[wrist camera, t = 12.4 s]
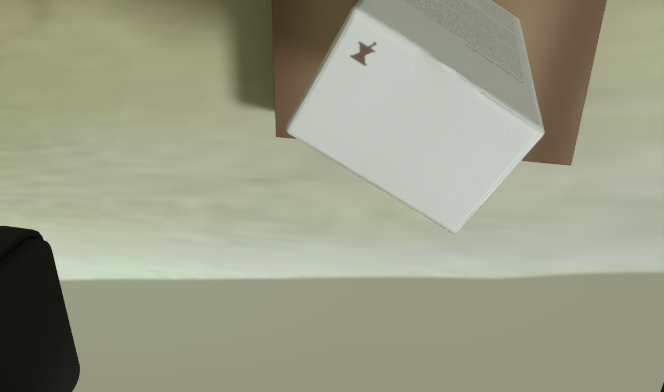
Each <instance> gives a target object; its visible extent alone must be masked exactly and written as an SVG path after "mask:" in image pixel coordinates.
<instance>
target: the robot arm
mask: <svg viewBox="0 0 664 392" xmlns="http://www.w3.org/2000/svg"><path fill="white" fill-rule="evenodd" d="M79 366H80V365H79V361H78V357H77V353H76V348H75V344H74V340H73V336H72V332H71V328H70V324H69V320H68V315H67V311H66V307H65V303H64V299H63V294H62V290H61V286H60V282H59V278H58V274H57V270H56V265H55V261H54V257H53V253H52V249H51V247H50V244H49V243H48V242H47V241H44V240H43V237H42V235H41V234H40V233H39V232H38V231H35V230H32V229H24V228H17V227H10V226H0V392H72V391H73V389H74V388H75V386H76V384H77V381H78V378H79V373H80V367H79ZM661 392H664V383H663V386H662V389H661Z"/></svg>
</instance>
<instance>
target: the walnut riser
mask: <svg viewBox="0 0 664 392" xmlns="http://www.w3.org/2000/svg"><path fill="white" fill-rule="evenodd" d="M358 1H359V0H272V22H273V54H274V86H275V118H276V137H283V138H293V139H296V138H295V137H293V136H291V135H290V134H288V133H287V131H286V126H287V124H288V122H289V120H290V118H291V116H292V114H293V113H294V111H295V109H296V107H297V105H298V104H299V102H300V100H301V98H302V97H303V95H304V93H305V91H306V89H307V88H308V86H309V84H310V82H311V81H312V79H313V77H314V75H315V73H316V72H317V70H318V68H319V66H320V65H321V63H322V61H323V59H324V57H325V56H326V54H327V52H328V50H329V49H330V47H331V45H332V43H333V41H334V40H335V38H336V36H337V34H338V33H339V31H340V29H341V27H342V25H343V24H344V22H345V20H346V18H347V16H348V14H349V13H350V11H351V9H352V8H353V7H354V6H355V5H356V4H357V2H358ZM492 1H494V2H495V3H497V4H498V5H500V6H501V7H503V8H504V9H506V10H507V11H509V12H510V13H512V14H513V15H515V16H516V17H518V18H519V20H520V23H521V28H522V32H523V37H524V42H525V46H526V51H527V56H528V60H529V65H530V69H531V74H532V79H533V83H534V88H535V92H536V97H537V102H538V105H539V110H540V114H541V119H542V123H543V127H544V135H543V136H542V138H541V139H540V140H539V141H538V142H537V143H536V144H535V145H534V147H533V148H532V149H531V150H530V151H529V152H528V153H527V155H526V156H525V157H524V158H523V159H522V160H521V161H529V162H540V163H550V164H560V165H570V166H571V163H572V158H573V154H574V149H575V145H576V140H577V135H578V131H579V126H580V121H581V117H582V112H583V107H584V103H585V98H586V94H587V89H588V84H589V80H590V75H591V70H592V66H593V61H594V57H595V52H596V47H597V43H598V38H599V33H600V29H601V24H602V20H603V15H604V10H605V6H606V1H607V0H492Z"/></svg>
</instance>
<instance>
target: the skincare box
mask: <svg viewBox="0 0 664 392" xmlns="http://www.w3.org/2000/svg"><path fill="white" fill-rule="evenodd" d="M286 131H287V133H288V134H290V135H291V136H293V137H295V138H296V139H298V140H300V141H301V142H303V143H304V144H306V145H308V146H309V147H311V148H313V149H314V150H316V151H318V152H319V153H321V154H323V155H324V156H326V157H327V158H329V159H331V160H332V161H334V162H336V163H337V164H339V165H341V166H342V167H344V168H346V169H347V170H349V171H351V172H352V173H354V174H356V175H357V176H359V177H361V178H362V179H364V180H366V181H367V182H369V183H371V184H372V185H374V186H376V187H377V188H379V189H381V190H383V191H384V192H386V193H388V194H389V195H391V196H393V197H394V198H396V199H398V200H399V201H401V202H402V203H404V204H406V205H407V206H409V207H411V208H412V209H414V210H416V211H418V212H419V213H421V214H422V215H424V216H426V217H427V218H429V219H431V220H432V221H434V222H435V223H437V224H439V225H440V226H442V227H444V228H445V229H447V230H448V231H449V232H451V233H453V234H454V233H456V232H458V230H459V229H460V228H461V227H462V226H463V225H464V224H465V222H466V221H467V220H468V219H469V218H470V217H471V216H472V215H473V214H474V213H475V211H476V210H477V209H478V208H479V207H480V206H481V205H482V204H483V203H484V201H485V200H486V199H487V198H488V197H489V196H490V195H491V194H492V193H493V191H494V190H495V189H496V188H497V187H498V186H499V185H500V183H501V182H502V181H503V180H504V179H505V178H506V177H507V176H508V175H509V174H510V173H511V171H512V170H513V169H514V168H515V167H516V166H517V165H518V164H519V162H520V161H521V160H522V159H523V158H524V157H525V156H526V155H527V153H528V152H529V151H530V150H531V149H532V148H533V147H534V145H535V144H536V143H537V142H538V141H539V140H540V139H541V138H542V136H543V135H544V127H543V123H542V119H541V114H540V110H539V105H538V102H537V97H536V92H535V88H534V83H533V79H532V74H531V69H530V65H529V60H528V56H527V51H526V46H525V42H524V37H523V32H522V28H521V23H520V20H519V18H518V17H516V16H515V15H513V14H512V13H510V12H509V11H507V10H506V9H504V8H503V7H501V6H500V5H498V4H497V3H495V2H494V1H492V0H359V1H358V2H357V4H356V5H355V6H354V7H353V8H352V9H351V11H350V13H349V14H348V16H347V18H346V20H345V22H344V24H343V25H342V27H341V29H340V31H339V33H338V34H337V36H336V38H335V40H334V41H333V43H332V45H331V47H330V49H329V50H328V52H327V54H326V56H325V57H324V59H323V61H322V63H321V65H320V66H319V68H318V70H317V72H316V73H315V75H314V77H313V79H312V81H311V82H310V84H309V86H308V88H307V89H306V91H305V93H304V95H303V97H302V98H301V100H300V102H299V104H298V105H297V107H296V109H295V111H294V113H293V114H292V116H291V118H290V120H289V122H288V124H287V126H286Z"/></svg>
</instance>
